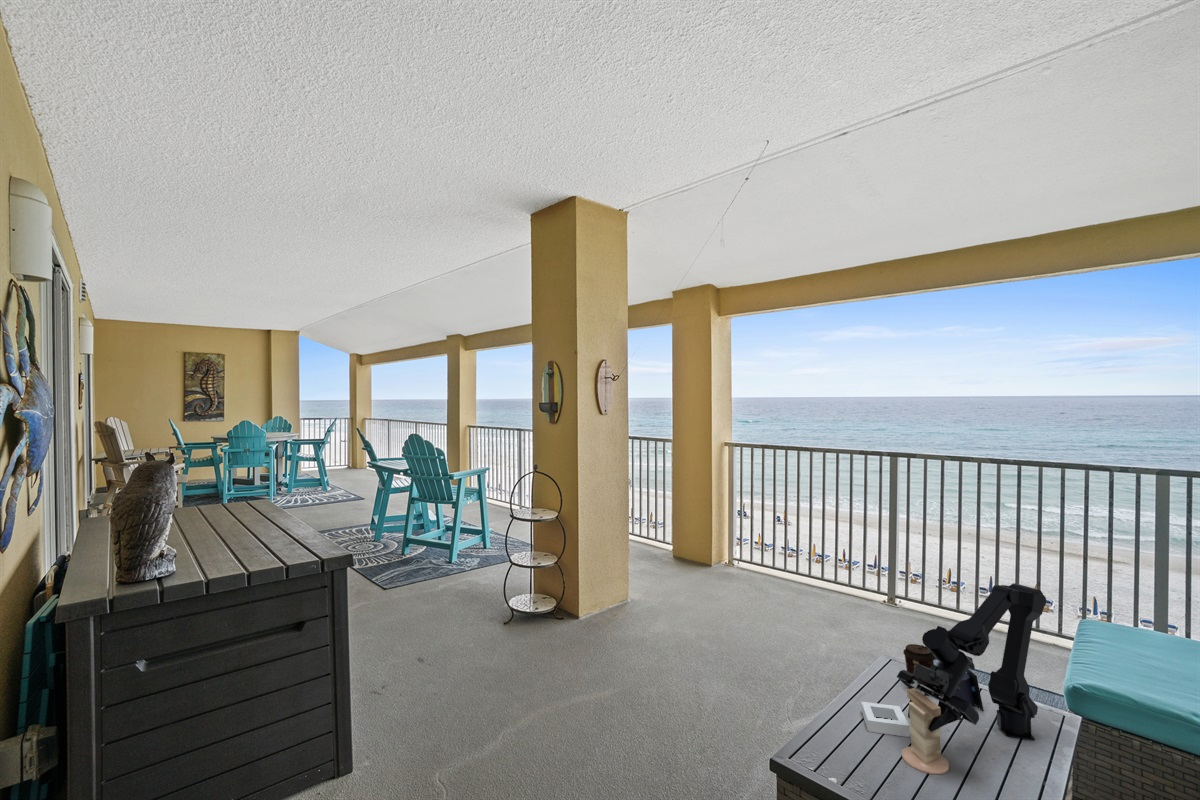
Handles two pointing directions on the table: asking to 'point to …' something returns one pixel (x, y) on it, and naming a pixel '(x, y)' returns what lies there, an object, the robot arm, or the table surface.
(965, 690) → the speaker
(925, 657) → the coffee cup
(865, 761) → the table surface
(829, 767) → the table surface
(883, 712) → the socket
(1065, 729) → the table surface
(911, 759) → the peach flat disc
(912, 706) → the wooden block tower
